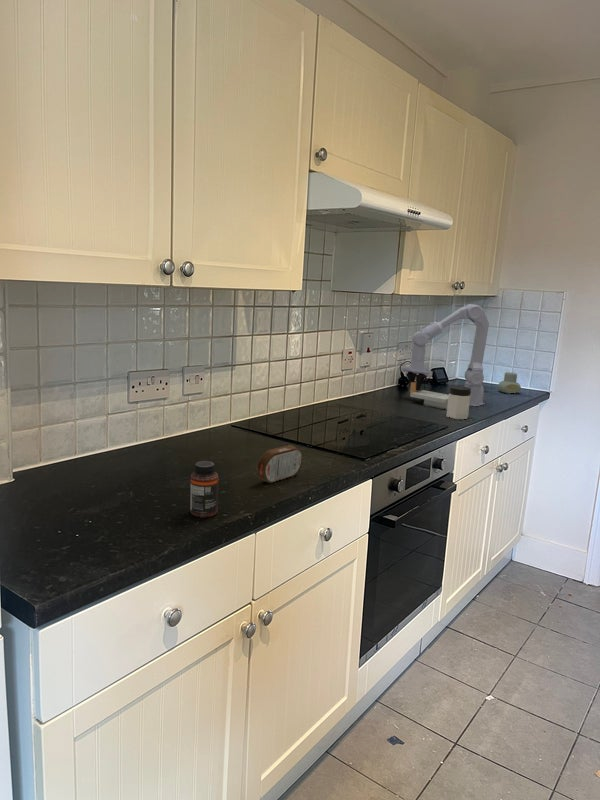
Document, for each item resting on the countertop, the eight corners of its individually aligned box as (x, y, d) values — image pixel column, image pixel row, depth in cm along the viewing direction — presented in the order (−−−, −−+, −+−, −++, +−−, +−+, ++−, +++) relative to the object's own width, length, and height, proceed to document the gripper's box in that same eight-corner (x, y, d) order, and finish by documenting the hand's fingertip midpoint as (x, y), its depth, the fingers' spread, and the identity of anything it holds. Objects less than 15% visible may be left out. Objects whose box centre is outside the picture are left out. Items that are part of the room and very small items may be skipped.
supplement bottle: (203, 505, 136) (205, 457, 133) (223, 513, 132) (225, 463, 130) (184, 513, 131) (185, 463, 129) (203, 521, 127) (205, 469, 125)
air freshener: (500, 393, 300) (503, 374, 298) (495, 390, 308) (497, 371, 306) (522, 395, 300) (524, 375, 298) (516, 391, 308) (518, 372, 306)
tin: (295, 472, 163) (296, 441, 161) (303, 475, 161) (305, 444, 159) (255, 484, 152) (256, 451, 150) (264, 487, 150) (265, 454, 148)
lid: (418, 392, 274) (419, 380, 273) (457, 400, 262) (458, 387, 261) (405, 395, 265) (406, 383, 264) (444, 403, 253) (446, 390, 252)
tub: (434, 402, 268) (435, 394, 267) (468, 409, 258) (469, 401, 257) (423, 405, 261) (424, 397, 260) (458, 412, 251) (458, 404, 250)
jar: (465, 420, 236) (469, 390, 233) (444, 417, 239) (448, 388, 236) (469, 416, 244) (472, 387, 241) (448, 413, 247) (452, 384, 244)
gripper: (398, 357, 267) (396, 387, 270) (428, 362, 258) (424, 393, 261) (406, 356, 272) (404, 386, 275) (436, 361, 263) (432, 391, 266)
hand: (414, 389), depth 268 cm, fingers closed on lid, 2 cm apart
